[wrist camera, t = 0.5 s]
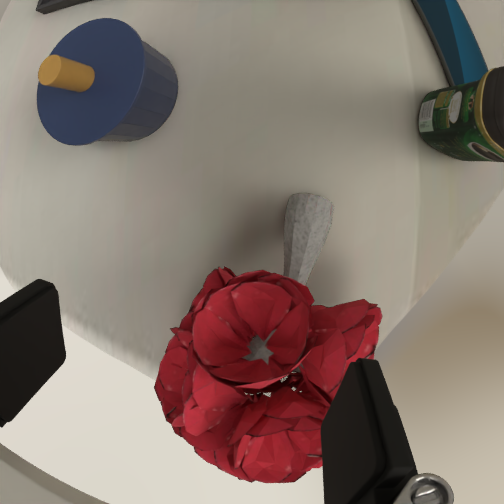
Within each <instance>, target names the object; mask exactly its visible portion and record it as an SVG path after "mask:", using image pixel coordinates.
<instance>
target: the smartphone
mask: <svg viewBox="0 0 504 504" xmlns="http://www.w3.org/2000/svg"><path fill="white" fill-rule="evenodd" d="M412 1H413V3H414V5H415V7H416V9H417V11H418V13H419V15H420V16H421V18H422V20H423V22H424V25H425V27H426V29H427V31H428V33H429V35H430V37H431V39H432V42H433V44H434V46H435V48H436V51H437V53H438V55H439V58H440V60H441V63H442V65H443V68H444V70H445V73H446V76H447V78H448V81H449V84H450V86H451V87H452V86H457V85H461V84H465V83H469V82H473V81H477V80H480V79H481V78H482V77H483V75H484V74H485V73H486V72H488V68H487V65H486V63H485V60H484V58H483V55H482V53H481V50H480V48H479V46H478V43H477V41H476V39H475V36H474V34H473V32H472V30H471V28H470V26H469V24H468V21H467V19H466V17H465V15H464V13H463V11H462V10H461V8H460V6H459V4H458V2H457V0H412Z"/></svg>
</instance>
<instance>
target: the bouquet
mask: <svg viewBox="0 0 504 504" xmlns="http://www.w3.org/2000/svg"><path fill="white" fill-rule="evenodd" d="M333 210H334V206H333V204H332V202H330V201H329V200H327V199H326V198H323V197H321V196H318V195H314V194H309V193H298V194H293V195H292V196H290V198H289V201H288V204H287V208H286V214H285V226H284V276H283V275H279V274H276V273H270V272H267V271H265V270H258V271H252V272H247V273H243V274H241V275H239V276H236V275H235V274H234V273H233V272H232V271H231V269H229V268H227V267H225V266H224V269H222V268H220V267H219V268H218V269H214V270H213V271H212V272H211V273H210V274H209V275H208V276H207V278H206V281H205V283H204V285H203V288H202V289H201V291H200V292H199V293H198V295H197V296H196V297H195V298H194V300H193V302H192V305H191V307H190V310H189V313H188V314H187V315H186V316H185V317H184V318H183V319H182V321H181V324H180V327H179V328H177V327H174V328H170V329H171V331H172V332H173V333H174V334H175V335H174V337H173V338H172V339H171V340H170V341H169V343H168V346H167V349H166V351H165V353H166V354H165V355H164V357H163V359H162V361H161V363H160V367H159V372H158V376H157V379H156V382H155V386H154V389H155V391H156V394H157V396H158V399H159V401H161V405H162V410H163V412H164V415H165V418H166V421H167V422H169V423H170V424H171V425H172V428H173V430H174V432H175V433H176V434H177V435H179V436H180V437H183V438H184V439H185V440H186V441H187V442H188V443H189V444H190V445H192V446H194V450H195V452H196V453H197V454H198V455H199V456H200V457H201V458H203V459H204V460H205V461H206V462H208V463H210V464H213V465H215V466H217V467H218V468H219V469H220V470H222V471H225V472H226V473H229V474H231V475H233V476H235V477H238V479H239V480H246V481H249V482H253V481H255V480H256V481H260V482H263V483H289V482H295V481H297V480H298V479H299V478H301V477H302V476H303V475H304V474H306V472H307V471H310V470H311V469H312V468H320V467H321V466H323V465H322V449H321V434H320V430H321V425H322V422H323V419H324V418H325V415H326V413H327V411H328V409H329V407H330V405H331V403H332V401H333V399H334V397H335V395H336V393H337V391H338V388H339V386H340V384H341V382H342V380H343V377H344V375H345V373H346V371H347V368H348V366H349V364H350V363H351V362H356V360H357V359H358V358H366V359H374V351H375V348H376V345H377V343H378V336H379V326H378V325H379V324H380V322H381V319H382V313H381V309H380V308H379V307H376V306H377V305H378V304H371V303H368V302H367V301H366V300H365V299H361V300H357V301H353V302H348V303H344V304H339V305H336V306H334V307H330V308H327V307H325V306H322V305H313V306H311V305H312V304H313V302H314V299H313V297H312V295H311V293H310V291H309V289H308V287H306V283H307V281H308V278H309V275H310V273H311V271H312V269H313V266H314V264H315V262H316V260H317V258H318V256H319V254H320V252H321V250H322V247H323V245H324V243H325V240H326V238H327V235H328V232H329V229H330V226H331V224H332V223H331V221H332V215H333ZM253 336H254V337H255V338H254V339H253V340H252V339H251V338H253ZM250 337H251V338H250ZM291 372H296V373H291ZM287 375H288V378H287V379H286V380H285V381H283V382H282V383H281V381H280V379H281V378H283V377H285V376H287ZM292 387H295V388H296V390H295V391H293V390H292V389H291V388H292ZM299 391H302V392H299ZM244 392H245V393H248V394H247V395H246V394H245V393H244ZM268 392H271V397H268V396H266V395H264V394H263V393H268ZM297 392H298V393H297ZM257 393H258V394H257ZM250 394H254V395H250Z"/></svg>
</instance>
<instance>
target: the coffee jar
mask: <svg viewBox="0 0 504 504" xmlns="http://www.w3.org/2000/svg"><path fill="white" fill-rule="evenodd" d="M419 131H420V134H421V136H422V138H423V139H424V140H425V141H426V142H427V143H428V144H429V145H431V146H432V147H434V148H435V149H437V150H439V151H441V152H442V153H445V154H447V155H449V156H451V157H453V158H456V159H459V160H463V161H493V162H504V67H499V68H493V69H491V70H489V71H488V72H486V73H485V74H484V75H483V77H482V78H481V79H480V80H477V81H473V82H469V83H465V84H461V85H457V86H452V87H447V88H443V89H439V90H436V91H433V92H430V93H429V94H427V96H426V97H425V98H424V101H423V103H422V106H421V109H420V114H419Z"/></svg>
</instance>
